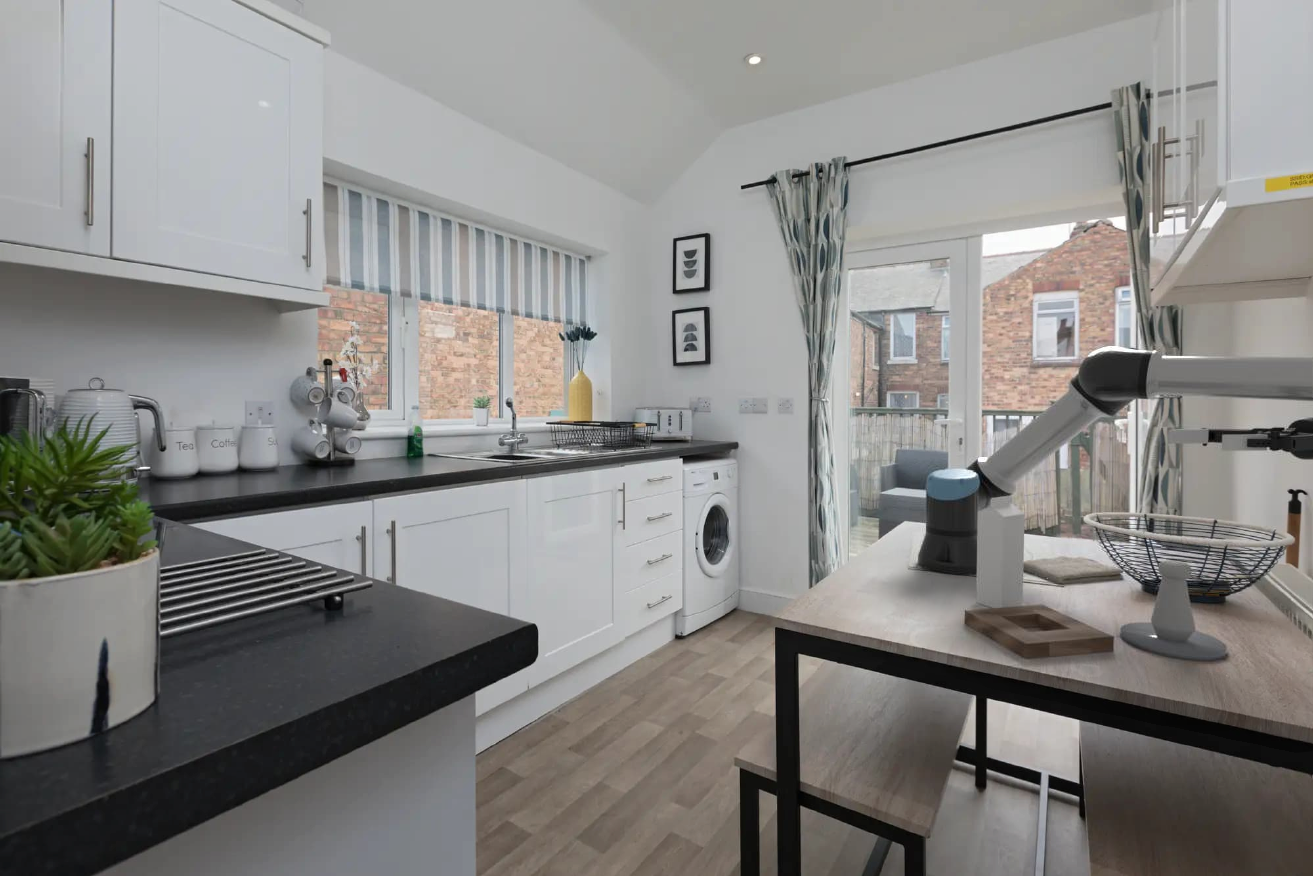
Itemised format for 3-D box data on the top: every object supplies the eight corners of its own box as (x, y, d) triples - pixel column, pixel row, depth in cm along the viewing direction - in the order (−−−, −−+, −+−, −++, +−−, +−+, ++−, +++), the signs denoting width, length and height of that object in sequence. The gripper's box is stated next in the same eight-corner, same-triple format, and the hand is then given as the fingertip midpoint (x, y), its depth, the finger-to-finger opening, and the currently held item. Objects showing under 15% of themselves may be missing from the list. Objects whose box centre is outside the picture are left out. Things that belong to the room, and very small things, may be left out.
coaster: (1100, 630, 114) (1100, 625, 114) (1168, 625, 116) (1168, 619, 116) (1174, 663, 100) (1174, 657, 100) (1250, 656, 102) (1250, 650, 102)
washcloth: (1127, 580, 144) (1127, 566, 144) (1060, 587, 140) (1061, 573, 140) (1081, 566, 156) (1082, 553, 155) (1019, 572, 152) (1019, 559, 152)
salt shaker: (1203, 645, 104) (1206, 567, 103) (1165, 644, 105) (1168, 567, 104) (1178, 631, 110) (1181, 558, 109) (1142, 630, 111) (1145, 557, 110)
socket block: (964, 623, 119) (964, 610, 119) (1041, 617, 121) (1042, 604, 121) (1025, 658, 103) (1026, 643, 103) (1113, 651, 105) (1113, 636, 105)
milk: (1022, 607, 127) (1026, 498, 125) (1001, 611, 125) (1005, 500, 123) (995, 598, 133) (998, 493, 131) (975, 602, 130) (977, 495, 128)
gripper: (1396, 468, 101) (1248, 468, 104) (1266, 452, 126) (1149, 452, 128) (1399, 421, 100) (1251, 422, 103) (1268, 414, 125) (1151, 415, 128)
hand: (1194, 439), depth 116 cm, fingers open, 13 cm apart
